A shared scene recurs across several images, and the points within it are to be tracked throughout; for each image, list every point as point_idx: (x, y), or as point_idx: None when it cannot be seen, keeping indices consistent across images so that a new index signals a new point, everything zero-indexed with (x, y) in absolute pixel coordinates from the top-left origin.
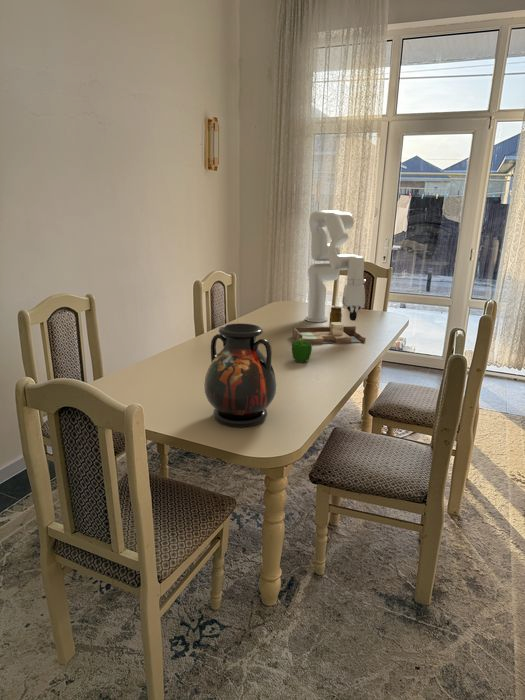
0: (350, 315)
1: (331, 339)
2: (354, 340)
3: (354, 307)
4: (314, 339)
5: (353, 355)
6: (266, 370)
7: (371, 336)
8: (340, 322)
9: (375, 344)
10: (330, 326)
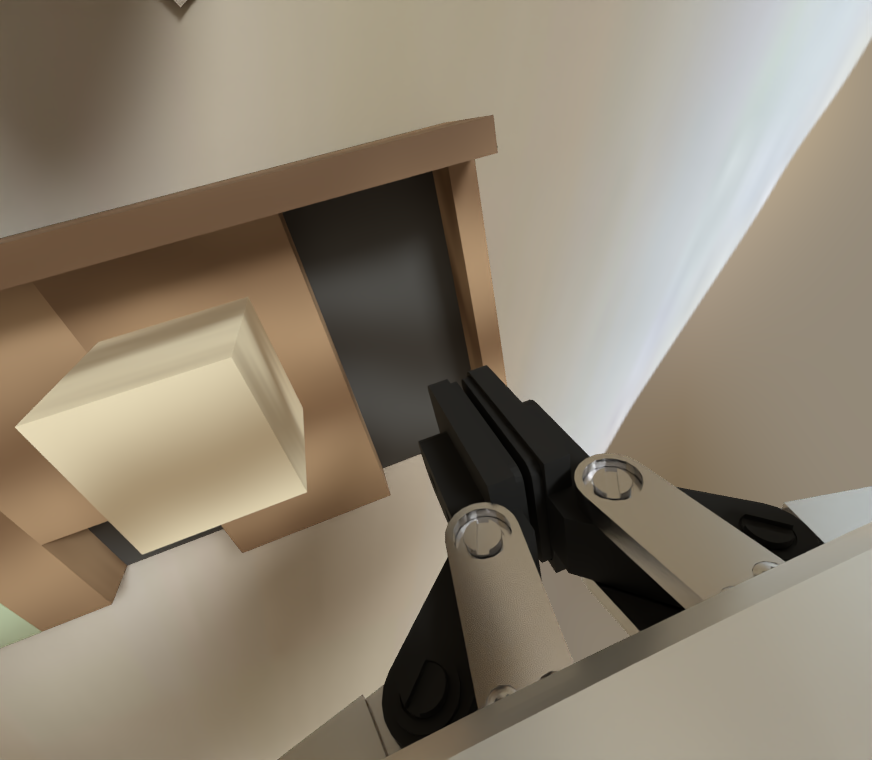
0: (446, 519)
1: None
2: (415, 407)
3: (656, 579)
4: (6, 641)
5: (380, 661)
6: None
7: (611, 183)
8: (235, 375)
9: None
10: (58, 390)
